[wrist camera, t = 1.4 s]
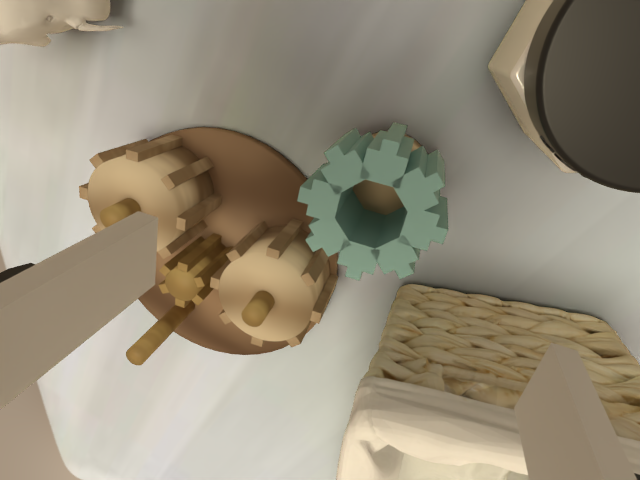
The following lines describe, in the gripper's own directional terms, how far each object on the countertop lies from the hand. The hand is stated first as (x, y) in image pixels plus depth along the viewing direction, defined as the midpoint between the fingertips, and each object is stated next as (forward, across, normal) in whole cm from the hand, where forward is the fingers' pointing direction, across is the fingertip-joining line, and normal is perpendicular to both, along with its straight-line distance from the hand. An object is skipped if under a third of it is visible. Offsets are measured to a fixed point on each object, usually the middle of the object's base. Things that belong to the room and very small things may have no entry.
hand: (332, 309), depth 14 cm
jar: (+17, +8, +9) cm, 21 cm away
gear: (+13, 0, 0) cm, 13 cm away
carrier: (+16, -11, -9) cm, 22 cm away
